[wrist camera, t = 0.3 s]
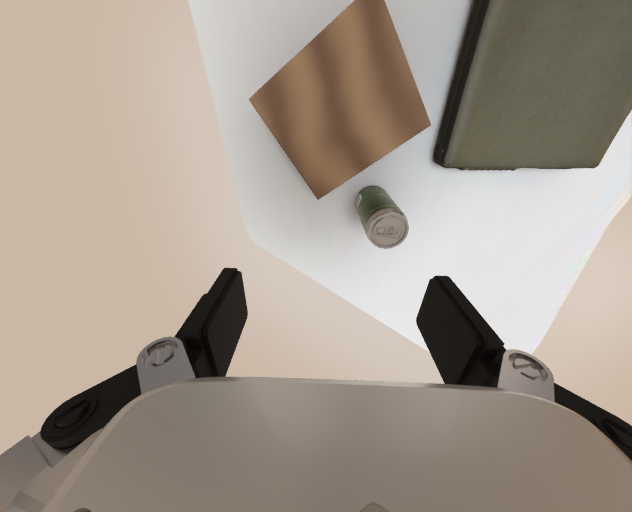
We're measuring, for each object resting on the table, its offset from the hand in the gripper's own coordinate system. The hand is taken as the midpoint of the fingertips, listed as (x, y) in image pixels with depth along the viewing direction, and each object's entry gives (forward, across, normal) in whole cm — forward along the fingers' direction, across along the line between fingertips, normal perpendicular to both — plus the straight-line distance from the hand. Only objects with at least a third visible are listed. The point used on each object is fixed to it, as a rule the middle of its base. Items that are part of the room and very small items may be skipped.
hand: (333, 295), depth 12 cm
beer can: (+30, -8, +4) cm, 31 cm away
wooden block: (+29, -1, -9) cm, 31 cm away
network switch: (+30, -26, -13) cm, 42 cm away
